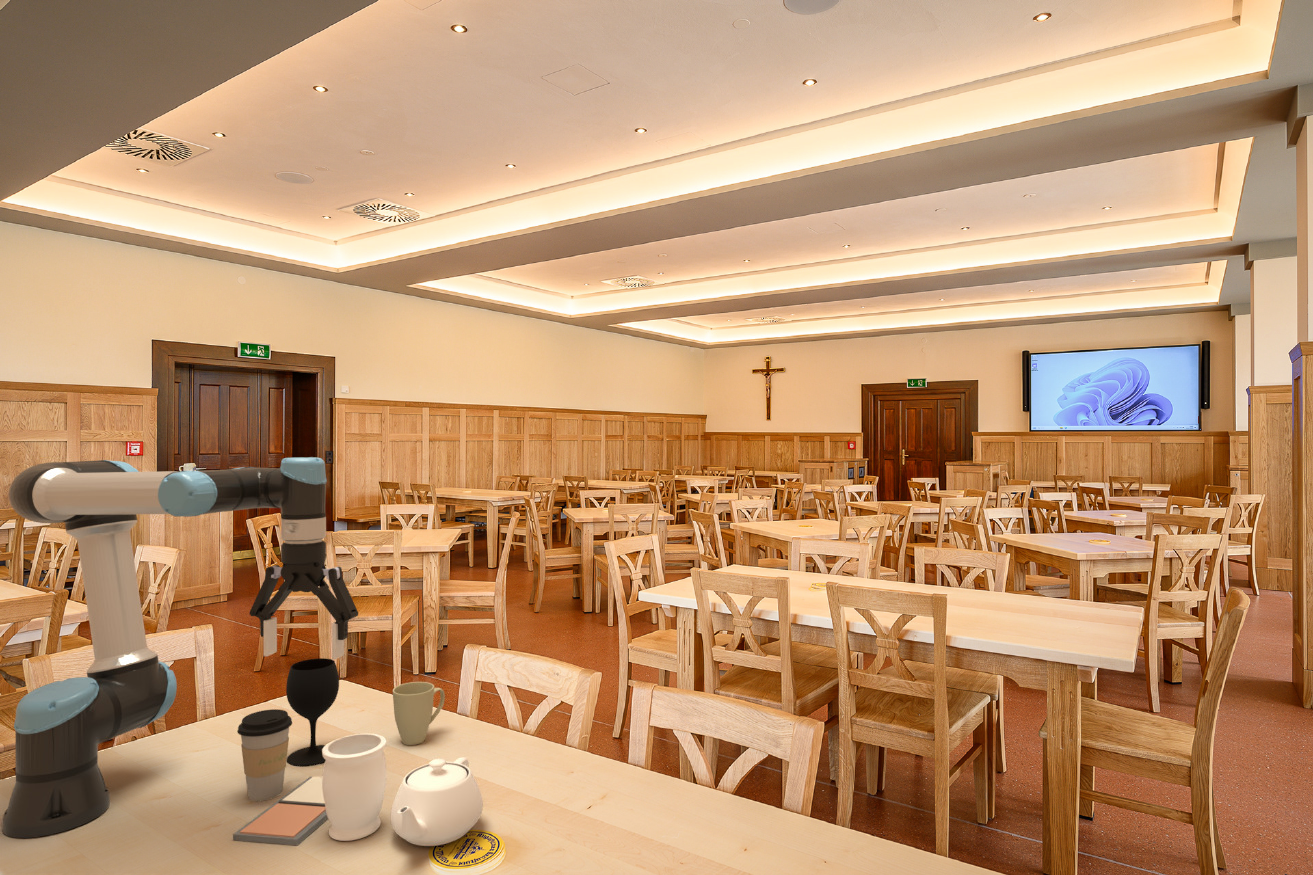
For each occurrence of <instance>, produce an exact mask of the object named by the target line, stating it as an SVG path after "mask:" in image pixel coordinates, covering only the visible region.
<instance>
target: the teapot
mask: <svg viewBox="0 0 1313 875" xmlns="http://www.w3.org/2000/svg"><path fill="white" fill-rule="evenodd" d="M469 763H470V762H469V759H468V758H467V757H464V756H462V757H458V758H457V759H456V760H454V761H447V760H445V759H444V758H434V759H432V760H431V761H429V763H426V764H423V765H421V766H418V767H415V768H414V769H412V770H410V771H409V772H408V773H407V774H406V775H405V776H404V777H403V779H402V781H401V783H400V784H399V785H400V786H399V787H398V790H397V792H396V795H395V797H394V799H393V802H392V805H391V810H390V824H391V827H392V829H393V831H394V832H395V833H396V834H397V835H398V836H399V837H400V838H402V839H404V840H405V841H406V842H408V843H410V844H413V845H415V846H420V847H421V846H422V847H423V846H424V847H435V846H442V845H445V844H449V843H452V842H455V841H457V840H458V839H461V838H462V837H463V836H465V835H466V834H467V833H469V831H470V830H471V829H472V828H473V827H474V826H475V825H476V824H477V822H478V821H479V819H480V818H481V815H482V813H483V808H484V801H483V796H482V791H481V789H480V785H479V784H478V782H477V779H476V778H475V776H474V774H473V772H472V770H471V769H470V768H469Z"/></svg>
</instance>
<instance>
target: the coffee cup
mask: <svg viewBox="0 0 1313 875" xmlns="http://www.w3.org/2000/svg"><path fill="white" fill-rule="evenodd" d="M291 726H293V721H292V717H291V716H290V715H289V713H288V712H287V711H286V710H285V709H277V708H276V709H275V708H274V709H265V710H259V711H256V712H252V713H249V714H247V715H246V716H244V717H243V718H242V720H241V723H240V724H239V725H238V727H237V734H238V735H240V737H241V755H242V762H243V771H244V775H245V780H246V788H247V797H248V799H249V800H250V801H253V802H264V801H268V800H272V799H274V798H276V797H278V796H280V795H281V794H282V793H283V790H284V779H285V770H286V767H287V757H288V750H289V740H290V737H289V734H290V728H291Z"/></svg>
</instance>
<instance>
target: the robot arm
mask: <svg viewBox="0 0 1313 875" xmlns="http://www.w3.org/2000/svg"><path fill="white" fill-rule="evenodd" d="M326 474H327V473H326V462H325V460H323V458H321V457H313V456H310V457H302V456H301V457H285V458H282V459H281V462H280V467H278V468H275V467H272V468H271V467H255V466H254V467H253V466H247V467H246V466H243V467H235V468H227V469H209V470H205V469H204V470H178V471H177V470H176V471H175V470H173V471H171V470H168V471H167V470H166V471H162V470H161V471H139V470H138V469H137V468H135V467H133V466H132V465H131V464H130V463H128V462H126V461H125V462H124V461H119V460H107V459H102V460H99V459H98V460H82V461H81V460H80V461H79V460H78V461H61V462H60V461H59V462H58V461H54V462H44V463H39V464H36V465H31V466H30V467H28V468H26V469H24V470H23V471H21V472H20V473H18V475H17V476H15V477H14V479H13V481H12V482H11V484H10V486H9V489H8V500H9V504H10V506H11V507H12V509H13V510H14V512H15V513H16V514H17V515H19V516H20V517H21V518H23V519H25V520H27V521H30V522H34V523H40V524H57V523H58V524H60V523H64V524H65V525H64V526H65V533H66V534H68V535H69V536H71V537H73V538H74V539H76V541H77V545H78V546H77V547H78V548H77V549H78V553H79V554H78V555H79V560H80V566H81V567H80V568H81V574H82V580H83V581H82V582H83V587H84V588H83V590H84V594H85V601H86V607H87V615H88V622H89V628H90V635H91V636H90V637H91V641H92V649H93V657H94V660H93V662H92V664H91V665H89V667H88V668H87V670H86V676H81V677H80V676H79V677H69V678H66V679H64V680H56V681H54V682H53V681H52V682H50V683H47V684H44V685H42V686H39V687H37V688H35V689H33V690H31V691H30V692H28V693H27V694H24V696H23V697H22V698H21V699H20V700H19V702H18V704H17V705H16V710H15V720H14V724H13V729H14V731H15V784H14V787H13V788H12V793H11V795H10V798H9V803H8V807H7V809H6V810H5V811H4V814H3V816H2V833H3V834H4V835H5V836H7V837H10V838H16V839H17V838H18V839H28V838H29V839H30V838H38V837H44V836H49V835H54V834H58V833H59V834H60V833H62V832H66V831H69V830H72V829H74V828H78V827H79V826H83V825H85V824H87V823H89V822H91V821H93V820H94V819H96V818H98V817H100V816H101V815H103V813H105V812H106V811H107V810H108V809H109V807H110V791H109V788H108V787H107V785H106V783H105V779H104V777H103V774H102V772H101V770H100V767H99V764H98V763H99V762H98V759H99V757H98V756H99V755H98V754H99V753H98V752H99V749H98V748H99V747H98V746H99V745H100V744H102V743H104V742H107V741H109V740H112V739H114V738H116V737H119V736H121V735H123V734H124V735H125V734H126V733H129V732H131V731H134V730H136V729H141V728H144V727H146V726H147V725H149V724H151V723H152V722H156V720H158V719H160V718H162V717H164V716H165V715H166V714H167V713H168V712H169V709H170V708H171V707H172V705H173V703H174V701H175V699H176V696H177V689H178V688H177V687H178V686H177V685H178V684H177V678H176V675H175V672H174V670H172V669H170V666H169V665H168V664H167V663H166V662H163V661H159V655H158V653H157V652H155V651H153V650H152V649H150V648H149V647H148V644H147V643H148V642H147V638H146V630H145V623H144V617H143V610H142V602H141V598H140V592H139V591H140V590H139V584H138V578H137V571H136V563H135V557H134V551H133V544H132V538H131V531H132V529H133V528H134V526H135V525H136V524H137V523H138V516H137V515H170V516H173V517H179V518H180V517H185V518H186V517H198V516H200V515H207V514H215V513H221V512H222V513H223V512H224V513H225V512H232V511H233V512H234V511H243V510H249V509H250V510H252V509H266V508H267V509H280V517H281V519H280V520H281V523H280V524H281V525H280V526H281V527H280V528H281V529H280V530H281V532H280V534H281V536H280V539H281V540H282V541H283V542H282V544H281V545H280V560H281V563H282V566H281V567H280V565H278V564H275V565H271V566H268V567H266V569H265V573H264V574H265V575H264V580H263V582H262V584H261V586H260V589H259V591H258V593H257V594H256V595H257V596H256V597H255V599H254V602H253V604H252V606H251V608H250V611H249V616H251V617H256V618H258V620H259V630H260V631H259V635H260V637H262V638H263V657H269V656H271V655H274V654H275V653H277V652H278V637H277V636H278V630H277V629H278V626H277V625H278V624H277V623H278V619H277V618H278V617H274V616H275V614H276V612H277V610H279V608H280V607H281V606H282V604H284V602H285V601H286V599H287V598H288V597H289V596H290V594H291V593H292V592H293V593H298V592H303V593H310V592H311V593H312V594H313V595H315V596H316V597H317V598H318V600H319V601H320V602H321V603H322V605H323V606H324V607H325V609H326V610H327V611H328V613H329V614H330V615H331V617H332V618H333V620H335V621H334V622H332V623H331V659H332V660H337V659H339V658H341V657H343V656H345V640H346V639H347V638H348V637H349V621H350V620H352V619H354V618H357V617H358V616H359V611H358V609H357V606H356V604H355V602H354V600H353V598H352V596H351V593H350V591H349V590H348V587H347V584H346V582H345V581H344V579H343V578H344V577H343V570H342V567H341V566H335V567H332V568H327V567H326V564H325V562H326V559H327V542H326V541H325V540H324V539H325V538H327V517H326V515H327V512H326V497H327V495H326V494H327V482H328V479H327V475H326ZM281 577H282V579H283V582H282V584H281V585H280V586H279V587H278V590H277V591H276V593H275V594H274V596H273V597H272V598H271V596H272V594H273V593H274V591H275V588H276V586H277V584H278V581H279V578H281ZM325 578H326V580H328V582H329V584H328V583H327V582H326V581H325ZM329 585H330V586H329ZM330 587H331V589H332V590H330ZM332 591H333V592H332Z"/></svg>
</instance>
